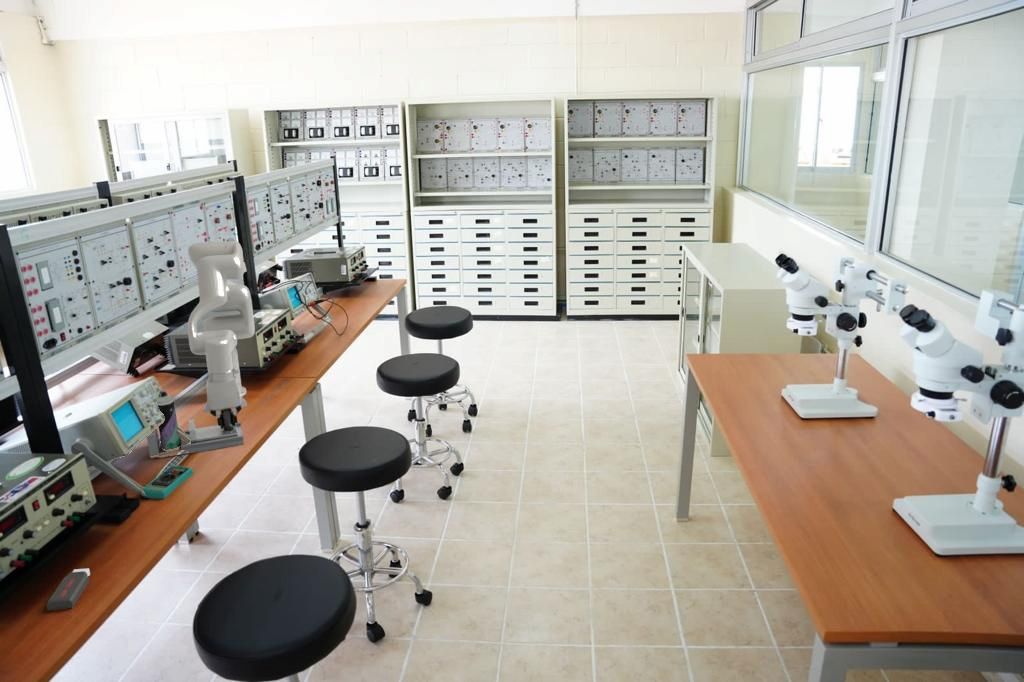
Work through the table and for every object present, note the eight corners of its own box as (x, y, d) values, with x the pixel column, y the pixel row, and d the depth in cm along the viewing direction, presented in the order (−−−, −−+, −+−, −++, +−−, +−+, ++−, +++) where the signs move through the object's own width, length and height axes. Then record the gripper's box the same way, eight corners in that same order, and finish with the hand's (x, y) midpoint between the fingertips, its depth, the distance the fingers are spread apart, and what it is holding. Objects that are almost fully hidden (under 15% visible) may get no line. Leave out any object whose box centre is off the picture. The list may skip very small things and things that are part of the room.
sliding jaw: (191, 434, 226) (187, 410, 223) (236, 427, 232) (233, 403, 229) (191, 446, 219) (187, 420, 216) (238, 438, 225) (235, 413, 222)
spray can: (160, 453, 218) (150, 395, 211) (164, 445, 223) (154, 388, 216) (179, 451, 219) (170, 394, 213) (182, 443, 224) (173, 387, 218)
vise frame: (151, 443, 224) (147, 421, 221) (241, 428, 235) (238, 407, 232) (150, 460, 213) (146, 437, 211) (244, 444, 224) (241, 422, 222)
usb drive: (47, 612, 151) (45, 602, 150) (71, 576, 162) (68, 567, 161) (73, 609, 152) (70, 599, 151) (94, 574, 163) (92, 565, 162)
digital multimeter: (194, 474, 207) (193, 465, 206) (164, 500, 193) (162, 491, 192) (172, 472, 208) (171, 463, 207) (140, 498, 194) (138, 489, 193)
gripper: (247, 367, 227) (253, 417, 233) (193, 374, 220) (200, 425, 226) (249, 375, 220) (255, 426, 227) (193, 382, 214) (201, 435, 220)
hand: (228, 425), depth 226 cm, fingers closed on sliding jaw, 3 cm apart
